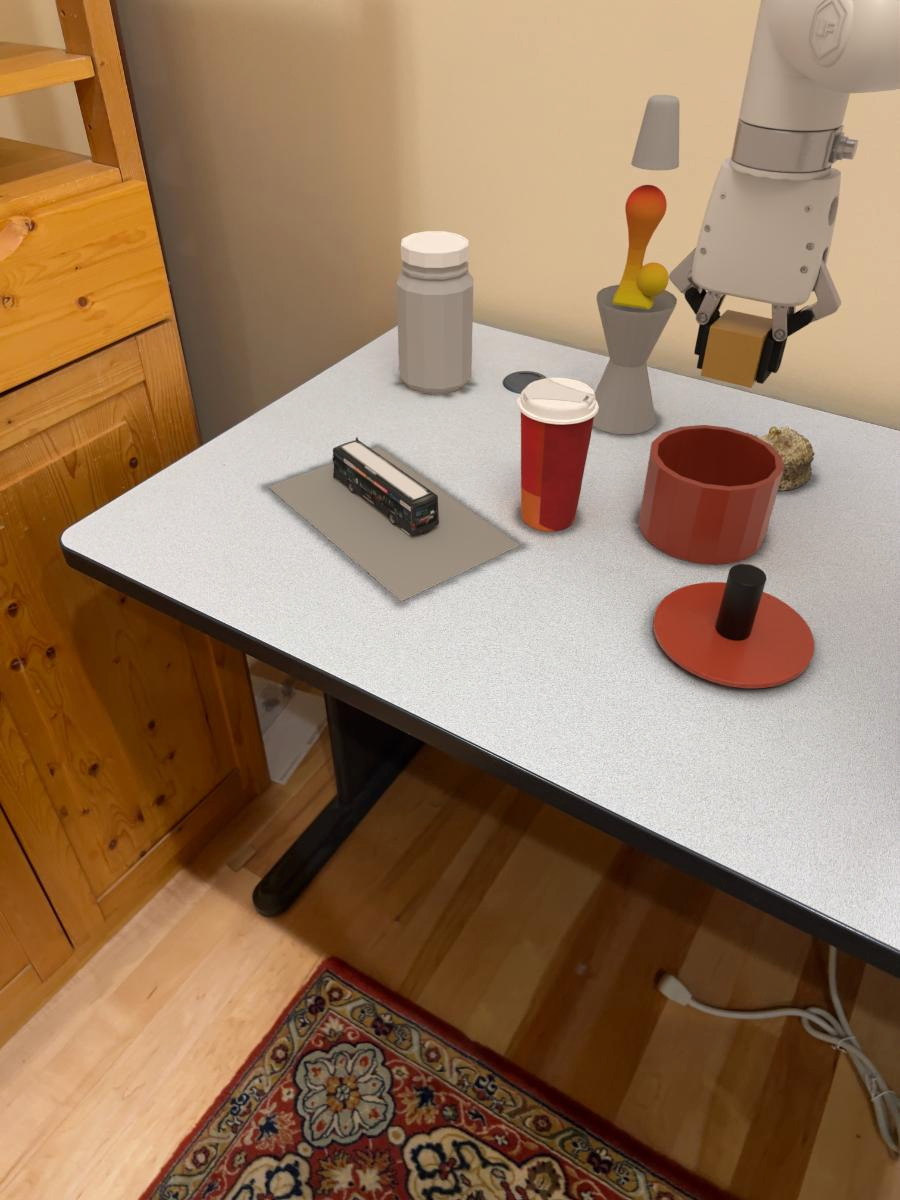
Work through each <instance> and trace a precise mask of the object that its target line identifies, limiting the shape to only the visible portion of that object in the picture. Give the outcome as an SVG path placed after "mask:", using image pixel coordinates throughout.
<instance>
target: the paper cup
mask: <svg viewBox="0 0 900 1200" xmlns="http://www.w3.org/2000/svg"><path fill="white" fill-rule="evenodd" d="M515 403H516V405H517V408H518V410H519V411H520V506H521V507H520V510H521V511H520V512H521V519H522V520H523V522H524V523H525V525H527V526H528V527H530V528H532V529H534V530H537V531H540V532H541V531H542V532H552V533H553V532H560V531H563V530H566V529H568V528H570V527H571V526H572V525H573V524H574V522H575V519H576V516H577V511H578V507H579V502H580V501H579V500H580V495H581V490H582V485H583V480H584V474H585V469H586V464H587V458H588V455H589V454H588V453H589V448H590V444H591V438H592V432H593V420H594V416H595V415H596V414H597V412H598V408H599V407H598V403H597V401H596V399H595V390H593V388H592V387H590V386H589V385H588V384H586V383H584V382H582V381H579V380H576V379H572V378H567V377H546V378H545V377H544V378H541V379H538V380H537V379H536V380H534V381H532V382H530V383H529V384H527V385H526V386H525V388H523V389H522V391H521V392H520V395H519V396H518V397H517V399H516V402H515Z"/></svg>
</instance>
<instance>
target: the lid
mask: <svg viewBox="0 0 900 1200" xmlns="http://www.w3.org/2000/svg"><path fill="white" fill-rule="evenodd" d="M767 578H768V577H767V574H766V572H765V571H763V570H762V569H761V568H760V567H757V566H755V565H753V564H747V563H739V564H735V565H733V566H731V567H730V568H729V570H728V574H727V578H726V581H725V582H723V581H709V582H708V581H707V582H698V583H693V584H688V585H685V586H682V587H680V588H677V589H676V590H673V591H671V592H670V593H669V594H667V595H666V596H665V597H664V598H663V599H662V600H661V601H660V602H659V604H658V605H657V606H656V609H655V612H654V616H653V620H652V626H653V628H652V629H653V633H654V636H655V639H656V641H657V643H658V644H659V645H658V646H660V648H661V650H662V651H663V652H664V653H665V654H666V655H667V656H668V658H670V659H671V660H672V661H673V662H674V663H675V664H676V665H678V666H680V668H682V669H684V670H686V671H687V672H689V673H691V674H692V675H695V676H697V677H698V678H701V679H704V680H706V681H709V682H712V683H714V684H719V685H722V686H726V687H732V688H739V689H766V688H772V687H777V686H780V685H784V684H786V683H789V682H791V681H793V680H794V679H796V678H798V677H799V676H800V675H802V674H803V673H804V672H805V671H806V670H807V669H808V668H809V665H810V664H811V661H812V659H813V657H814V653H815V640H814V636H813V633H812V631H811V628H810V627H809V625H808V623H807V622H806V620H805V619H804V618H803V617H802V616H801V614H799V613H798V612H797V610H795V609H794V608H793V607H792V606H790V605H789V604H787V603H786V602H784V601H782V600H781V599H779V598H777V597H776V596H774V595H772V594H770V593H768V592H766V591H764V589H765V585H766V583H767Z"/></svg>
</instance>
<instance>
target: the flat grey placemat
mask: <svg viewBox="0 0 900 1200" xmlns="http://www.w3.org/2000/svg"><path fill="white" fill-rule="evenodd" d="M268 489H270V490H271V491H272V492H273V493H274V494H275V495H277V496H278V498H280V499H281V500H283V501H284V502H285V503H286V504H287V505H289V506H290V507H291V508H292V509H293V510H294V511H295V512H297V514H298V515H300V516H301V517H302V518H303V519H304V520H306V521H307V522H308V523H309V524H310V525H312V526H313V527H314V528H315V529H317V531H318V532H320V533H321V534H322V535H323V536H325V538H327V539H328V540H329V541H331V542H332V543H333V544H334V545H335V546H336V547H337V548H339V549H340V550H341V551H342V552H343V553H344V554H346V555H347V556H348V557H349V558H350V559H351V560H353V562H355V563H356V564H357V565H358V566H359V567H361V568H362V570H364V571H365V572H366V573H368V574H369V575H370V576H371V577H373V578H374V579H375V580H376V581H377V582H378V583H380V584H381V586H383V587H384V588H385V589H386V590H388V591H389V592H390V593H391V594H392V595H393V596H394V597H395V598H396V599H398V600H399V601H400V602H403V601H405V600H407V599H409V598H411V597H413V596H415V595H417V594H419V593H422V592H424V591H426V590H428V589H430V588H432V587H435V586H436V585H438V584H440V583H443V582H445V581H447V580H449V579H451V578H453V577H456V576H458V575H460V574H462V573H464V572H466V571H468V570H470V569H472V568H475V567H477V566H479V565H480V564H483V563H485V562H487V561H489V560H492V559H494V558H496V557H498V556H500V555H502V554H503V553H504V554H505V553H506V552H508V551H510V550H512V549H515V548H517V547H520V544H519V543H518V542H516V541H515V540H514V539H512V538H510V537H509V536H508V535H506V534H505V533H503V532H502V531H501V530H499V529H498V528H496V527H495V526H493V525H491V524H490V523H489V522H487V521H486V520H484V518H481V517H480V516H478V515H477V514H476V513H474V512H473V511H472V510H470V509H469V508H467V507H466V506H465V505H463V504H461V503H460V502H459V501H457V500H456V499H454V498H453V497H451V496H450V495H448V494H447V493H446V492H444V491H443V490H441V489H440V488H439V487H437V486H436V485H434V484H433V483H431V482H430V481H428V480H427V479H426V478H424V477H422V476H421V475H420V474H418V473H417V472H415V471H414V470H412V469H411V468H409V467H408V466H407V465H405V464H403V462H401V461H400V460H398V459H396V458H395V457H394V456H392V455H391V454H389V453H388V452H387V451H385V450H383V449H382V448H380V447H379V446H376V447H374V448H370V447H369V446H368V445H366V444H365V443H364V442H362V441H361V440H359V438H358V436H356V437H355V440H352V441H351V440H350V441H348V442H345V443H342V444H339V445H338V446H337V445H336V447H333V448H332V463H329V464H326V465H324V466H321V467H318V468H316V469H313V470H310V471H307V472H305V473H302V474H299V475H296V476H293V477H291V478H288V479H285V480H282V481H280V482H277V483H275V484H271V485H269V486H268Z"/></svg>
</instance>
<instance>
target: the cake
mask: <svg viewBox="0 0 900 1200" xmlns="http://www.w3.org/2000/svg"><path fill="white" fill-rule="evenodd" d="M750 434H751V435H754V436H755V437H757V438H759V439H761V440H763V441H765V442H767V443H768V444H770V445H771V446H772V447H773V448H774V449H775V450H776V451H777V452H778V453H779V454H780V455H781V457H782V461H783V469H784V470H783V474H782V477H781V481H780V484H779V488H778V491H783V492H784V491H788V490H789V491H791V490H794V489H798V488H799V487H801V486H804V485H805V484H806V483H808V482H809V480H810V479H811V476H812V475H813V472H812V471H813V469H812V462H814V460H815V452H814V449H813V448H814V447H813V445H812V443H811V442H810V440H809V438H807V437H805V436H804V435H803V434H800V433H798V431H797V430H796V429H792V428H789V427H788V426H780V427H779V428H777V427H776V426H772V427H770V428H769V429H768V433H767V434H763V435H762V436H758V435H757V434H753V433H750Z"/></svg>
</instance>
